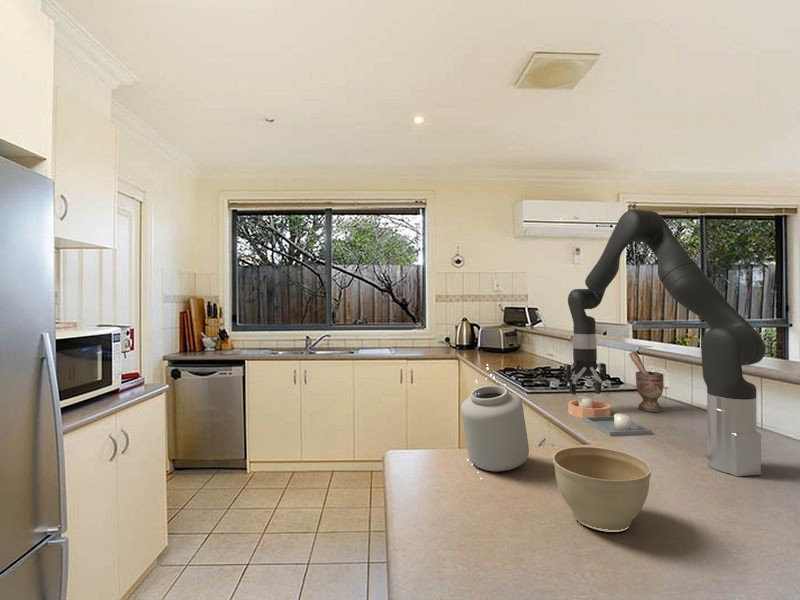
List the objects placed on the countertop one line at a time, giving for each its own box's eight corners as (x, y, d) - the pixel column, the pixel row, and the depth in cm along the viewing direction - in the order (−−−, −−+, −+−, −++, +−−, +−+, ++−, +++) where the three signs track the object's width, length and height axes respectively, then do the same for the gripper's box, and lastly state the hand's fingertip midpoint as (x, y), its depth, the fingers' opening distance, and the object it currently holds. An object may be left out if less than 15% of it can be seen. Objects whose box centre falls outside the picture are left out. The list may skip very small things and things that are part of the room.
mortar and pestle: (623, 408, 156) (622, 352, 156) (631, 403, 162) (631, 350, 162) (659, 414, 148) (658, 355, 147) (667, 409, 154) (666, 353, 153)
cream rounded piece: (634, 432, 126) (634, 417, 126) (619, 433, 125) (619, 417, 125) (625, 428, 130) (625, 413, 130) (611, 428, 130) (611, 413, 130)
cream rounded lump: (595, 412, 147) (594, 398, 147) (582, 412, 147) (582, 399, 147) (588, 409, 152) (588, 395, 152) (576, 409, 151) (576, 396, 151)
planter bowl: (569, 492, 91) (569, 440, 91) (658, 516, 80) (658, 458, 80) (540, 524, 78) (539, 464, 78) (641, 557, 68) (640, 488, 68)
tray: (651, 437, 124) (651, 430, 124) (610, 438, 123) (610, 431, 123) (620, 422, 139) (620, 415, 139) (583, 423, 138) (583, 417, 138)
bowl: (618, 420, 141) (618, 408, 141) (580, 422, 140) (580, 409, 140) (597, 410, 154) (597, 398, 154) (562, 411, 153) (561, 400, 153)
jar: (492, 487, 93) (491, 371, 93) (443, 467, 105) (442, 364, 105) (541, 464, 106) (540, 362, 105) (492, 448, 117) (491, 356, 117)
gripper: (569, 348, 145) (570, 397, 145) (610, 347, 146) (611, 395, 146) (559, 346, 152) (560, 392, 152) (598, 345, 153) (599, 390, 153)
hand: (585, 393), depth 149 cm, fingers open, 8 cm apart
